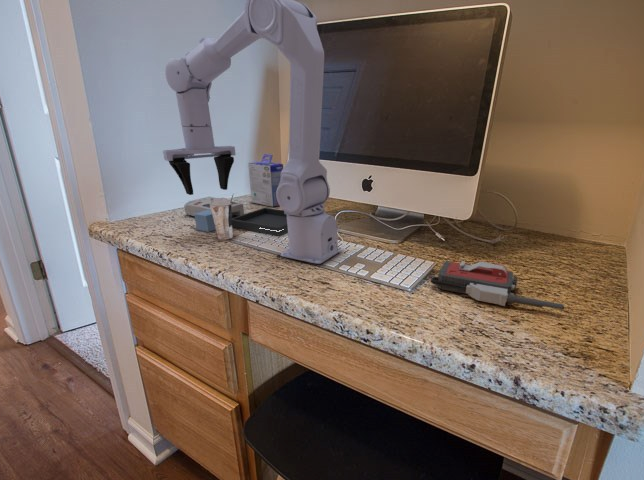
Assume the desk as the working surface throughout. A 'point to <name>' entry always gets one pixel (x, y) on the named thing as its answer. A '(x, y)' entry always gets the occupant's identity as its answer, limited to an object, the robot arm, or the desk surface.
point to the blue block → (204, 221)
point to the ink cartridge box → (264, 181)
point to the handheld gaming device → (204, 205)
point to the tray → (262, 221)
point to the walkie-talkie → (484, 283)
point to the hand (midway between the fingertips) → (207, 191)
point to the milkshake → (222, 217)
